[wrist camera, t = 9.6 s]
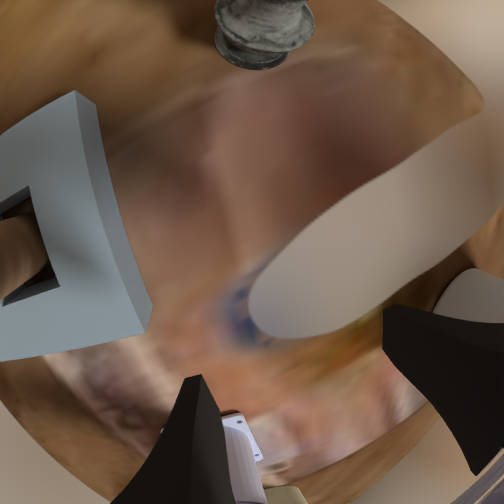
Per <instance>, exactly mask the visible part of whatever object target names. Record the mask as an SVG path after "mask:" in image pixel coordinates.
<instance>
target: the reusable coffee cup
mask: <svg viewBox="0 0 504 504" xmlns="http://www.w3.org/2000/svg"><path fill="white" fill-rule="evenodd" d="M264 493H265V496H266V499H267V503H268V504H308V503H307V502H306V500H305V499H304V497H303V495H302V494H301V492H300V490H299V489H298V488H297V487H294V486H280V487H273V488H269V489H264Z"/></svg>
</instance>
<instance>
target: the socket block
mask: <svg viewBox="0 0 504 504" xmlns="http://www.w3.org/2000/svg"><path fill="white" fill-rule="evenodd" d="M30 196H31V198H32V202H33V206H34V210H35V214H36V218H37V221H38V225H39V228H40V232H41V235H42V238H43V241H44V244H45V247H46V250H47V253H48V256H49V259H50V262H51V264H52V267H53V270H54V272H55V275H56V277H55V278H52V279H49V280H46V281H43V282H41V283H38V284H35V285H33V286H30V287H27V288H25V285H24V283H23V284H22V285H20V286H19V287H17V288H16V289H15V290H13V291H12V292H11V293H10V294H8V295H7V296H6V297H4V298H3V299H2V300H1V301H0V361H1V362H2V361H9V360H16V359H22V358H28V357H34V356H40V355H46V354H52V353H57V352H62V351H67V350H73V349H78V348H82V347H87V346H92V345H97V344H101V343H106V342H110V341H115V340H119V339H123V338H128V337H132V336H136V335H140V334H144V333H146V329H147V326H148V322H149V319H150V316H151V312H152V309H153V305H152V302H151V300H150V297H149V295H148V292H147V290H146V287H145V285H144V282H143V280H142V277H141V274H140V272H139V269H138V266H137V263H136V261H135V258H134V255H133V252H132V249H131V246H130V243H129V240H128V237H127V234H126V231H125V228H124V224H123V221H122V218H121V215H120V211H119V208H118V204H117V201H116V197H115V193H114V190H113V186H112V182H111V178H110V174H109V170H108V166H107V161H106V157H105V152H104V147H103V142H102V137H101V132H100V127H99V121H98V115H97V109H96V105H95V104H94V103H93V102H91V101H90V100H88V99H87V98H86V97H84V96H83V95H81V94H80V93H79V92H77V91H76V90H74V91H72V92H70V93H68V94H66V95H64V96H62V97H60V98H58V99H56V100H55V101H53V102H51V103H49V104H47V105H46V106H44V107H42V108H40V109H39V110H37V111H36V112H34V113H32V114H31V115H29V116H28V117H26V118H24V119H23V120H21V121H20V122H18V123H17V124H15V125H14V126H13V127H11V128H10V129H8V130H7V131H5V132H4V133H3V134H1V135H0V221H2V220H3V218H2V213H3V212H5V211H6V210H8V209H10V208H11V207H13V206H15V205H16V204H18V203H20V202H22V201H23V200H25V199H27V198H29V197H30Z"/></svg>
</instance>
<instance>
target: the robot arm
mask: <svg viewBox="0 0 504 504" xmlns="http://www.w3.org/2000/svg"><path fill="white" fill-rule="evenodd" d="M382 349H383V351H384V352H385V353H386V355H387V356H388V358H389V359H390V360H391V362H392V363H393V364H394V366H395V367H396V368H397V369H398V370H399V371H400V372H401V373H402V374H403V375H404V376H405V377H406V378H407V379H408V380H409V381H410V382H411V383H412V384H413V385H414V386H415V387H416V388H417V389H418V390H419V391H420V392H421V393H422V394H423V395H424V396H425V397H426V398H427V399H428V400H429V401H430V402H431V404H432V405H433V406H434V407H435V409H436V410H437V412H438V413H439V414H440V416H441V417H442V418H443V420H444V421H445V423H446V424H447V426H448V427H449V429H450V430H451V432H452V434H453V435H454V437H455V439H456V440H457V442H458V444H459V446H460V448H461V450H462V452H463V454H464V456H465V458H466V460H467V463H468V465H469V468H470V470H471V471H472V473H473V474H474V475H475V476H477V475H478V474H479V473H480V472H481V471H482V470H483V469H484V468H485V467H486V466H487V465H488V464H489V463H490V462H491V461H492V460H493V459H494V458H495V457H496V456H497V455H498V454H499V453H500V452H501V451H502V449H503V448H504V323H487V322H476V321H468V320H463V319H457V318H452V317H447V316H443V315H439V314H435V313H431V312H427V311H423V310H419V309H415V308H411V307H407V306H402V305H397V304H394V305H392V306H390V307H388V308H386V309H383V344H382ZM239 420H240V421H239ZM262 459H263V455H262V453H261V451H260V449H259V447H258V445H257V443H256V441H255V439H254V437H253V435H252V433H251V431H250V429H249V427H248V425H247V423H246V421H245V418H244V416H243V414H241V413H235V414H231V415H227V416H223V417H221V414H220V410H219V408H218V406H217V404H216V402H215V400H214V398H213V396H212V394H211V392H210V390H209V388H208V386H207V384H206V382H205V380H204V378H203V376H202V374H200V375H196V376H192V377H187V378H185V379H184V381H183V384H182V386H181V389H180V392H179V394H178V397H177V399H176V402H175V404H174V407H173V409H172V411H171V414H170V416H169V418H168V420H167V423H166V425H165V427H164V428H162V429H161V435H160V437H159V438H158V440H157V442H156V444H155V446H154V448H153V449H152V451H151V453H150V454H149V456H148V458H147V459H146V461H145V462H144V464H143V465H142V467H141V468H140V469H139V471H138V472H137V473H136V475H135V476H134V477H133V479H132V480H131V481H130V483H129V484H128V485H127V486H126V487H125V488H124V490H123V491H122V492H121V493H120V494H119V495H118V496H117V497H116V498H115V499H114V500H113V501H112V502H111V503H110V504H268V503H267V499H266V496H265V493H264V490H263V486H262V483H261V479H260V476H259V472H258V469H257V465H256V461H260V460H262ZM503 473H504V454H503V455H502V456H501V457H500V458H499V459H498V460H497V462H496V463H495V464H494V465H493V466H492V467H491V468H490V469H489V470H488V471H487V472H486V473H485V474H484V475H483V476H482V477H481V478H480V479H479V480H478V481H477V482H475V483H474V484H473V485H472V486H471V487H470V488H469V489H468V490H466V491H465V492H464V493H463V494H462V495H461V496H459V497H458V498H457V499H456V500H455V501H454V502H452V503H451V504H473V503H475V502H476V501H477V500H478V499H479V498H480V497H481V496H482V495H483V494H484V493H485V492H486V491H487V490H488V489H489V488H490V487H491V486H492V485H493V484H494V483H495V482H496V481H497V480H498V479H499V478H500V477H501V476H502V475H503ZM478 504H504V479H503V480H502V481H501V482H499V483H498V484H497V485H496V486H495V487H494V488H493V489H492V490H491V491H490V492H489V493H488V494H487V495H485V497H484V498H483V499H482V500H481V501H480V502H479V503H478Z"/></svg>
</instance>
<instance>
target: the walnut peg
mask: <svg viewBox="0 0 504 504" xmlns="http://www.w3.org/2000/svg"><path fill="white" fill-rule="evenodd" d="M50 264H51V262H50V259H49V256H48V253H47V250H46V247H45V244H44V241H43V238H42V235H41V232H40V228H39V225H38V221H37V218H36V214H35V211H34V212H30V213H26V214H23V215H19V216H16V217H12V218H9V219H5V220H2V221H0V301H1V300H2V299H3V298H4V297H6V296H7V295H8V294H10V293H11V292H12V291H13V290H15V289H16V288H17V287H19V286H20V285H22V284H23V283H24V282H26V281H27V280H28V279H30V278H31V277H33V276H34V275H35V274H37V273H38V272H40V271H41V270H43V269H44V268H46V267H47V266H48V265H50Z"/></svg>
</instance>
